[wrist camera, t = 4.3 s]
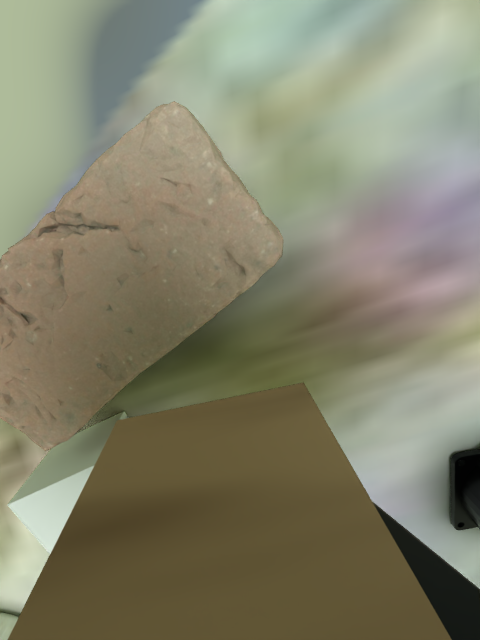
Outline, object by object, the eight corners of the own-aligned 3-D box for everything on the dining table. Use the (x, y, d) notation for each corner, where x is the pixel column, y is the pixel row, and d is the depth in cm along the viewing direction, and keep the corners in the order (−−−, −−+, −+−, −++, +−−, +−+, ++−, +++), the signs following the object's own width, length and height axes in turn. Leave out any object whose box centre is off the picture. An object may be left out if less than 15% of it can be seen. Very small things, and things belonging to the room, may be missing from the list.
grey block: (162, 468, 22) (146, 535, 17) (98, 497, 22) (64, 571, 17) (124, 410, 21) (95, 464, 16) (56, 442, 21) (7, 504, 16)
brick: (185, 115, 17) (171, 73, 12) (283, 244, 19) (303, 249, 14) (-27, 317, 19) (-107, 345, 14) (81, 413, 21) (42, 464, 16)
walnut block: (323, 525, 10) (470, 926, 4) (163, 559, 10) (95, 1021, 4) (303, 382, 9) (485, 697, 3) (116, 420, 8) (-87, 827, 3)
